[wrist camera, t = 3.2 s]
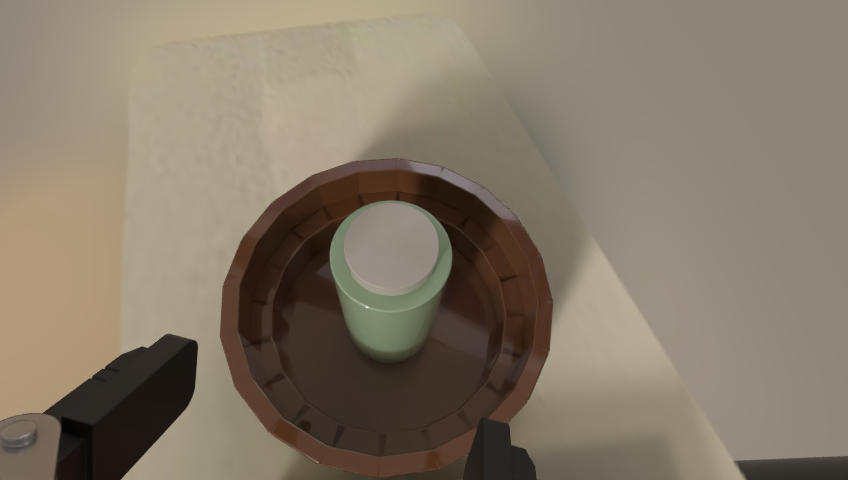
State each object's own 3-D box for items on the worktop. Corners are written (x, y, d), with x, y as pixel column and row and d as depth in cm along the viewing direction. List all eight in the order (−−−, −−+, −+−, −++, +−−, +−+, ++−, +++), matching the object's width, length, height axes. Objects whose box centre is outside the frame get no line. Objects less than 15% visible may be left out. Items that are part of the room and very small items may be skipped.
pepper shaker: (427, 277, 28) (445, 185, 19) (438, 358, 26) (464, 298, 17) (344, 284, 28) (324, 193, 19) (349, 368, 26) (329, 311, 17)
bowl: (497, 196, 32) (515, 150, 27) (554, 453, 25) (590, 448, 21) (252, 214, 30) (229, 168, 25) (244, 496, 23) (210, 501, 19)
